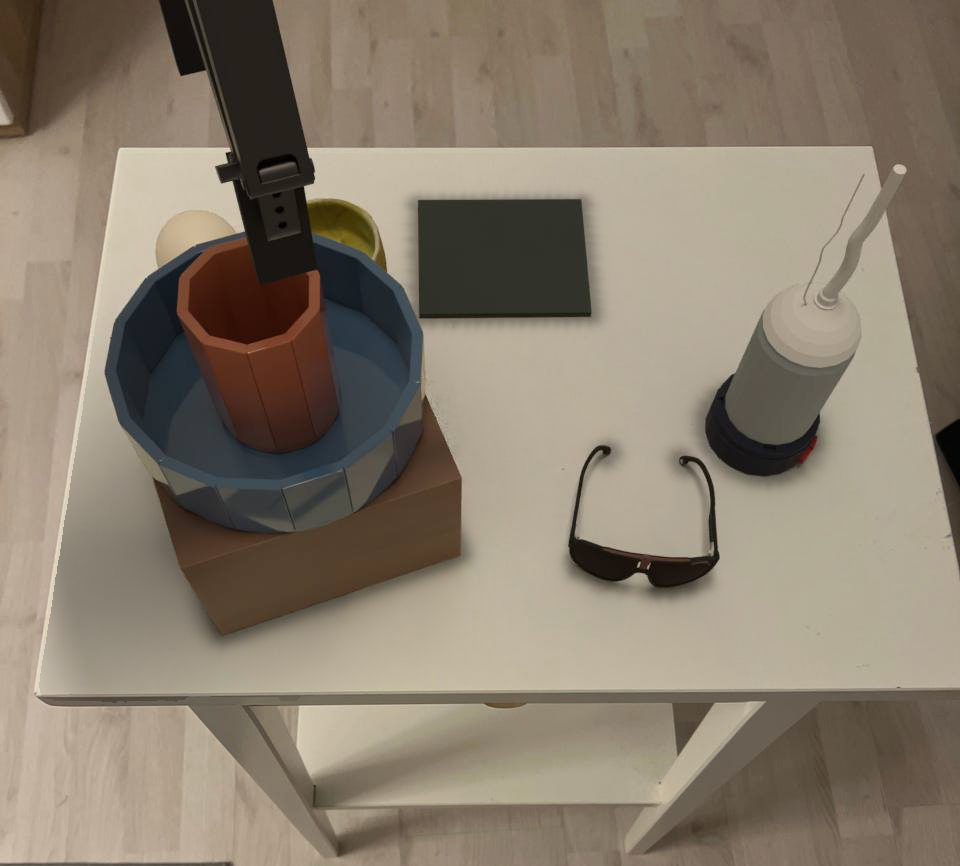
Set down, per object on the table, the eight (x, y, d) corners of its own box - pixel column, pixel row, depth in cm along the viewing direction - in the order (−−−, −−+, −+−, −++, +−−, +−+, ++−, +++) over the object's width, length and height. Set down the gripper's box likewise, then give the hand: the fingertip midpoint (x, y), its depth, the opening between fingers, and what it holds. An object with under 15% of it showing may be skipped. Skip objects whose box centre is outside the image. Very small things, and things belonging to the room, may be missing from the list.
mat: (419, 317, 77) (419, 313, 77) (418, 204, 82) (417, 199, 81) (590, 316, 78) (591, 312, 77) (580, 203, 82) (581, 198, 82)
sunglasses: (561, 586, 69) (569, 548, 64) (573, 458, 75) (582, 414, 70) (706, 605, 69) (724, 568, 64) (708, 475, 74) (725, 432, 70)
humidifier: (818, 474, 73) (989, 225, 50) (712, 477, 73) (834, 229, 49) (800, 385, 76) (953, 110, 53) (698, 388, 76) (807, 113, 52)
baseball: (250, 246, 79) (232, 182, 73) (255, 317, 77) (238, 256, 71) (167, 255, 79) (143, 190, 73) (171, 326, 76) (145, 265, 70)
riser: (158, 430, 73) (109, 336, 63) (380, 363, 76) (369, 263, 65) (222, 635, 67) (180, 569, 57) (460, 555, 70) (462, 478, 60)
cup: (203, 372, 61) (159, 259, 52) (321, 338, 63) (298, 222, 53) (236, 469, 59) (195, 368, 50) (358, 431, 60) (341, 326, 51)
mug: (408, 238, 78) (373, 174, 68) (407, 362, 77) (372, 315, 67) (266, 250, 80) (212, 189, 70) (265, 371, 79) (210, 326, 70)
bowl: (105, 335, 63) (75, 276, 58) (371, 260, 65) (364, 198, 60) (177, 573, 57) (150, 531, 52) (466, 479, 59) (467, 431, 54)
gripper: (380, -242, 22) (406, 346, 42) (120, -705, 30) (246, -26, 50) (55, -184, 21) (241, 394, 41) (-127, -682, 29) (103, 5, 49)
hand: (244, 164), depth 45 cm, fingers open, 13 cm apart
